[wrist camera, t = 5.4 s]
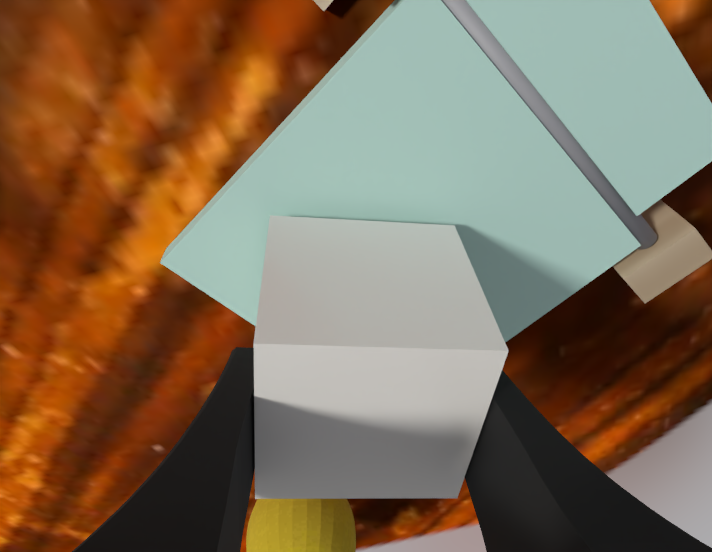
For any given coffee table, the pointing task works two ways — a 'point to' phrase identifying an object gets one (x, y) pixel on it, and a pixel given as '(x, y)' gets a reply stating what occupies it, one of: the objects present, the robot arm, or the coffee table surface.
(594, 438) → the coffee table surface
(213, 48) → the coffee table surface
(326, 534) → the lemon
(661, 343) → the coffee table surface
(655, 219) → the frame
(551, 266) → the trapdoor
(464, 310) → the white cube
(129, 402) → the coffee table surface
